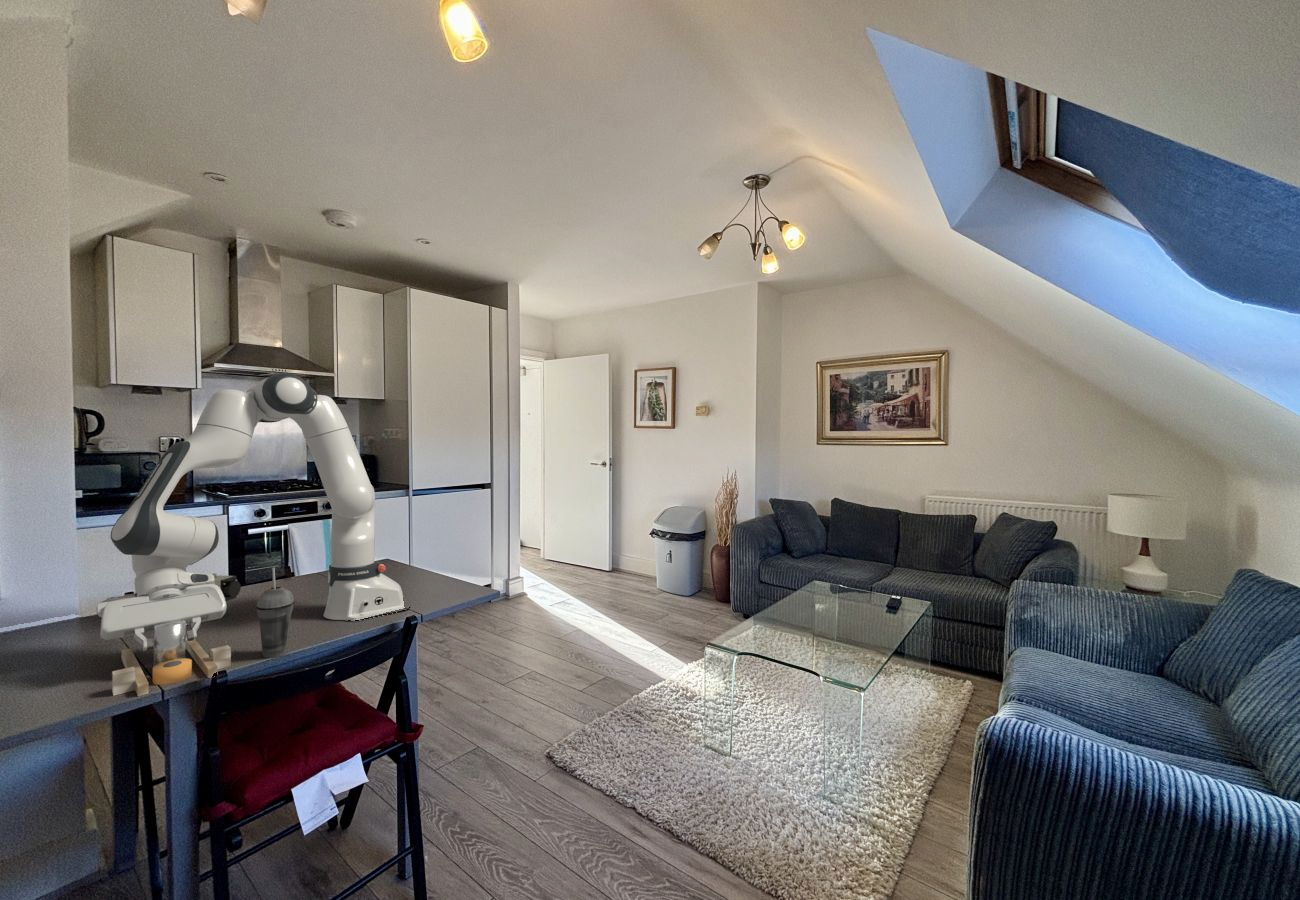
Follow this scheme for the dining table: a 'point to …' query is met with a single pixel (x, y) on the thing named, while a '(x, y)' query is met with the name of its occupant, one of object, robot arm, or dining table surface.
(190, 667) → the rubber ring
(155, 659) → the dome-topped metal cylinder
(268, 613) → the beverage cup
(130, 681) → the guide track
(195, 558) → the robot arm
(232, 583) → the pneumatic valve
